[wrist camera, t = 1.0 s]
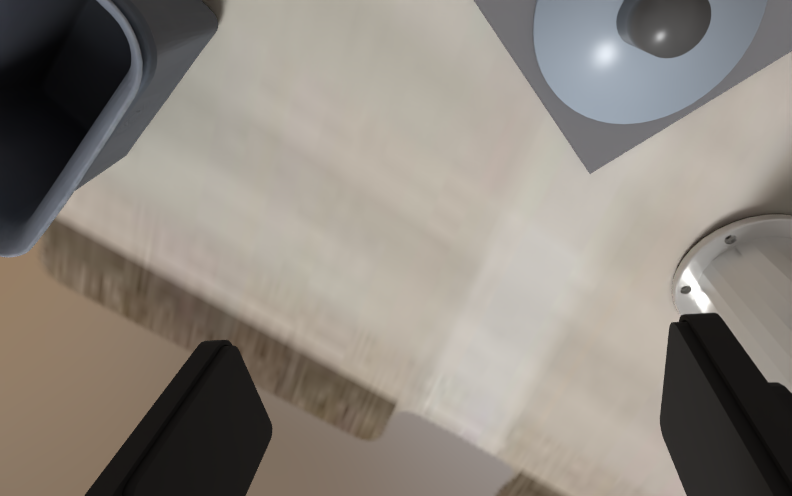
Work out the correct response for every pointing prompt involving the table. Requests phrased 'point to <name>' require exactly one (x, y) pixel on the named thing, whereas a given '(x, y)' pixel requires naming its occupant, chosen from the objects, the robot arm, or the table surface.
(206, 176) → the table surface
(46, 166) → the storage bin
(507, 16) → the mat
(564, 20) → the lid
